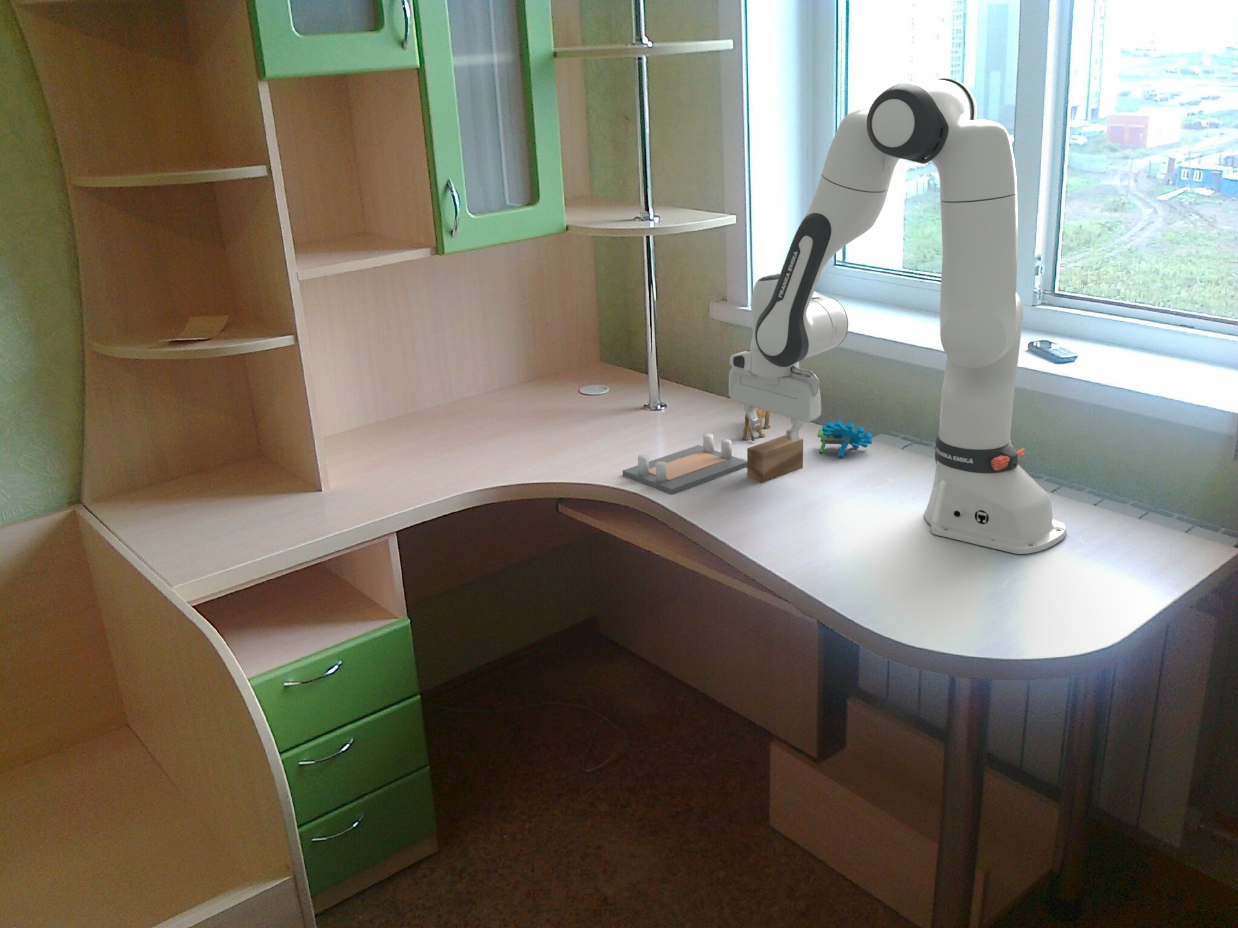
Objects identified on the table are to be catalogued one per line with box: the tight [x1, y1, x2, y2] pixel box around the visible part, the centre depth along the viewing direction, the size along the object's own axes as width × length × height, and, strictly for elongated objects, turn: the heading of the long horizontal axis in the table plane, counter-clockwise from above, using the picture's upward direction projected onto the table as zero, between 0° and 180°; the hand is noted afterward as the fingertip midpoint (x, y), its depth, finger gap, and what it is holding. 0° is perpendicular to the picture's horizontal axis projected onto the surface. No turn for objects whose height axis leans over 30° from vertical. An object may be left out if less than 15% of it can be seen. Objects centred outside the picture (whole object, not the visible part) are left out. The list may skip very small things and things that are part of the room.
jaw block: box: [746, 434, 804, 484], centre depth 206 cm, size 4×11×6 cm, turn 129°
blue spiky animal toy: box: [816, 420, 873, 459], centre depth 214 cm, size 11×6×10 cm
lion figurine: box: [742, 408, 771, 442], centre depth 228 cm, size 15×5×9 cm, turn 168°
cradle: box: [622, 433, 747, 495], centre depth 209 cm, size 14×20×4 cm
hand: (773, 433), depth 204 cm, fingers open, 8 cm apart
